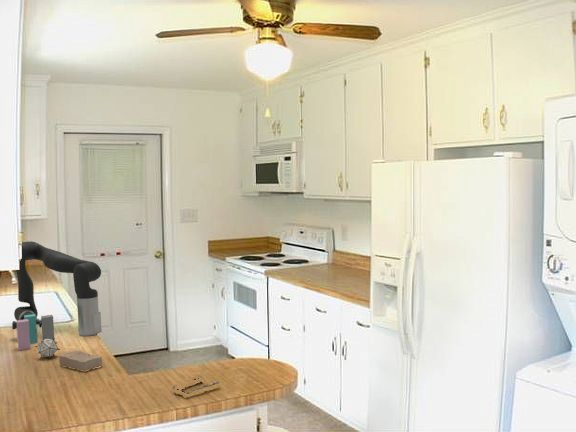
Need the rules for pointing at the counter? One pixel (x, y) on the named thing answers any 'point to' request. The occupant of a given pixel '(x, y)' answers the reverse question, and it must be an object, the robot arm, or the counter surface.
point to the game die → (47, 347)
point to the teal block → (32, 327)
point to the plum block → (23, 334)
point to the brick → (80, 360)
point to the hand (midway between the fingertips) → (30, 326)
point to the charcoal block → (47, 327)
